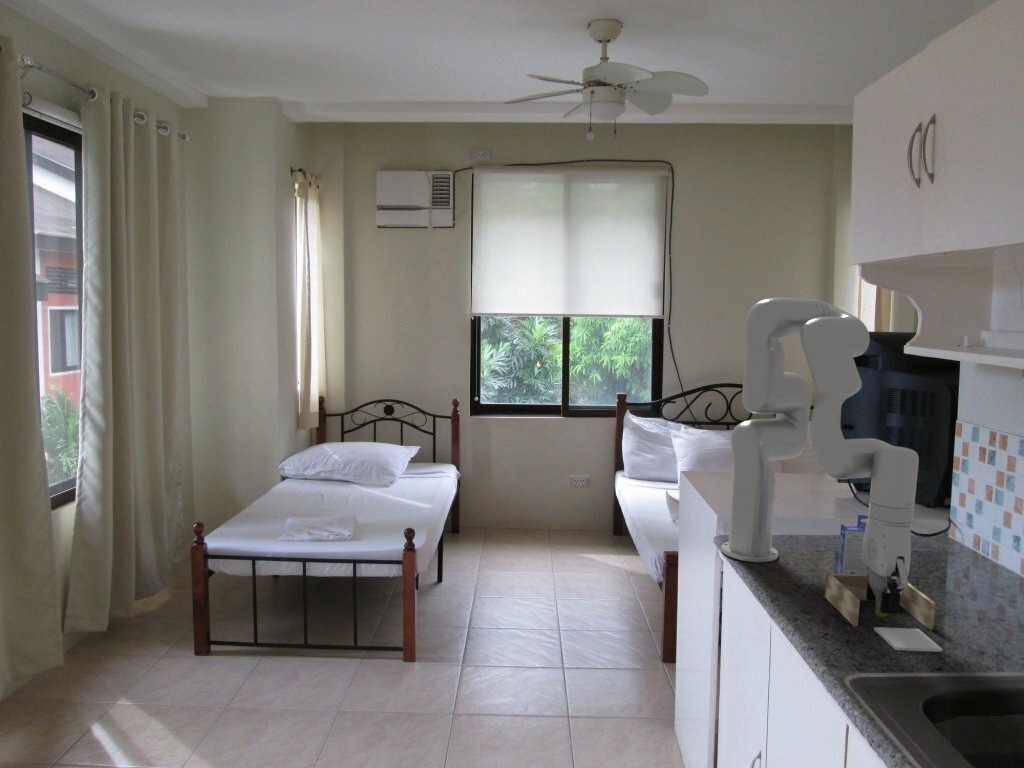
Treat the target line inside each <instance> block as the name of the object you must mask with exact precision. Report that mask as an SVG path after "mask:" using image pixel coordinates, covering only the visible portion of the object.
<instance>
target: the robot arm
mask: <svg viewBox="0 0 1024 768" xmlns="http://www.w3.org/2000/svg"><path fill="white" fill-rule="evenodd" d="M779 338H800V343H801V346H802V350H803V352H804V356H805V358H806V359H805V360H806V362H807V364H808V367H809V371H810V375H811V378H812V381H813V384H814V387H815V390H816V393H817V398H816V402H815V403H814V406H813V409H812V412H811V406H812V405H811V404H812V394H811V393H812V392H811V388H810V385H809V383H808V381H807V380H806V378H805V377H804V376H803V375H801V374H800V373H795V372H793V371H789V372H788V371H785V362H786V353H785V349H784V346H783V344H782V342H781V340H780V339H779ZM744 339H745V359H744V360H745V361H744V367H743V368H744V370H743V383H742V397H741V399H742V400H741V401H742V405H743V407H744V408H745V410H746V411H747V412H750V413H751V414H755V415H756V414H757V415H758V414H759V415H775V418H759V419H757V418H756V419H748V420H744V421H742V422H740V423H738V424H737V425H736V426H735V427H734V428H733V430H732V431H731V436H730V445H731V452H732V453H731V454H732V463H733V464H732V466H733V467H732V491H731V505H730V517H729V518H730V519H729V530H728V531H729V532H728V533H729V534H728V541H725V542H723V543H722V544H721V552H722V553H723V554H724V555H726V557H727V556H728V557H730V558H732V559H734V560H735V559H736V560H738V561H742V562H743V561H744V562H749V563H769V562H773V561H776V560H777V559H778V558H779V557H778V556H779V552H778V550H777V549H776V548H774V547H773V546H772V543H773V542H772V540H773V530H774V529H773V528H774V516H775V515H774V514H775V501H776V489H777V480H776V476H775V473H774V470H773V468H772V466H771V463H770V462H771V461H780V460H781V461H783V460H792V459H796V458H798V457H799V456H800V455H801V454H802V453H803V452H804V450H805V448H806V446H807V440H808V431H810V432H809V433H810V439H811V443H812V446H813V449H814V452H815V455H816V458H817V461H818V463H819V465H820V467H821V468H822V470H823V472H824V473H826V475H828V476H829V477H830V478H833V479H835V480H849V479H865V478H871V484H870V493H869V501H868V502H869V503H868V504H869V505H868V513H867V514H868V515H867V516H868V519H866V522H865V523H866V527H865V532H864V538H863V545H862V553H861V560H862V562H863V563H864V564H865V565H866V566H867V568H868V573H867V578H868V579H869V574H870V572H871V570H872V571H874V572H875V573H876V574H877V575H879V576H880V577H882V578H884V590H885V592H883V591H882V598H881V609H880V611H881V612H882V613H887V615H889V614H890V615H891V614H893V615H897V614H899V612H900V607H901V606H900V596H901V594H902V590H903V589H904V587H906V586H907V585H908V583H909V579H908V576H909V573H910V566H911V558H912V557H911V555H912V553H911V551H912V530H911V529H912V528H911V526H913V524H914V515H915V514H914V513H915V502H916V496H917V494H916V493H917V482H918V474H919V473H918V472H919V463H920V461H919V460H920V458H919V455H918V452H916V450H914V449H912V448H909V447H905V446H896V445H893V444H890V443H888V442H886V441H884V440H882V439H881V440H880V439H878V438H873V437H872V438H870V437H869V438H851V439H849V438H848V439H847V438H846V439H845V437H844V434H843V431H842V429H841V423H840V412H841V411H840V410H841V408H842V405H843V403H845V401H846V400H847V399H848V398H851V397H852V396H854V395H855V394H857V393H858V392H859V391H860V390H861V389H862V386H863V382H862V379H861V376H860V373H859V371H858V368H857V365H856V362H855V359H854V358H857V357H860V356H862V355H863V354H865V352H866V351H867V350H868V348H869V345H870V341H871V340H870V339H871V337H870V332H869V330H868V327H867V326H866V324H865V323H864V322H863V321H862V320H861V319H860V318H858V317H856V316H855V315H853V314H851V313H849V312H847V311H845V310H843V309H841V308H839V307H837V306H835V305H833V304H832V303H829V302H827V301H824V300H822V299H816V298H796V297H770V298H765V299H763V300H759V301H758V302H756V303H755V304H754V305H753V306H752V307H751V308H750V309H749V311H748V313H747V314H746V319H745V323H744ZM810 413H811V414H810ZM810 415H811V418H810ZM892 573H896V576H891V574H892ZM890 579H894V580H896V582H893V583H892V584H891V585H890ZM866 599H867V600H866V601H868V600H869V602H870V601H871V602H876V597H875V595H874V593H873V591H872V589H871V587H870V584H869V580H868V583H867V594H866Z"/></svg>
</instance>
